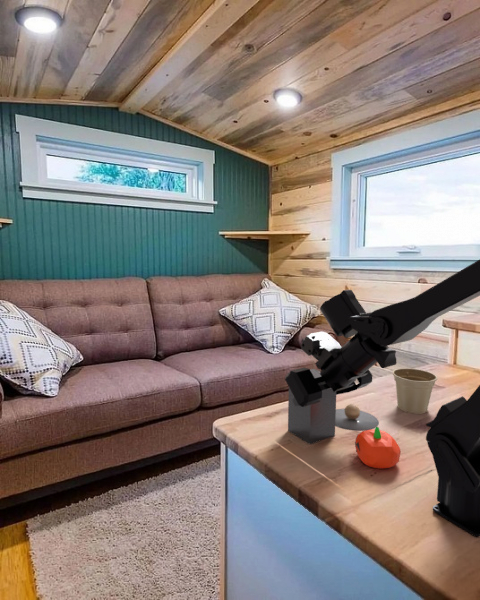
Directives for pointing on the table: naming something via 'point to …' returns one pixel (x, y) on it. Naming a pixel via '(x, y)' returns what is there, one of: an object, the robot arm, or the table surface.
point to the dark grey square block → (313, 416)
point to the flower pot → (413, 389)
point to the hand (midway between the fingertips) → (306, 399)
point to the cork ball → (352, 411)
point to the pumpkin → (377, 449)
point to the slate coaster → (356, 421)
